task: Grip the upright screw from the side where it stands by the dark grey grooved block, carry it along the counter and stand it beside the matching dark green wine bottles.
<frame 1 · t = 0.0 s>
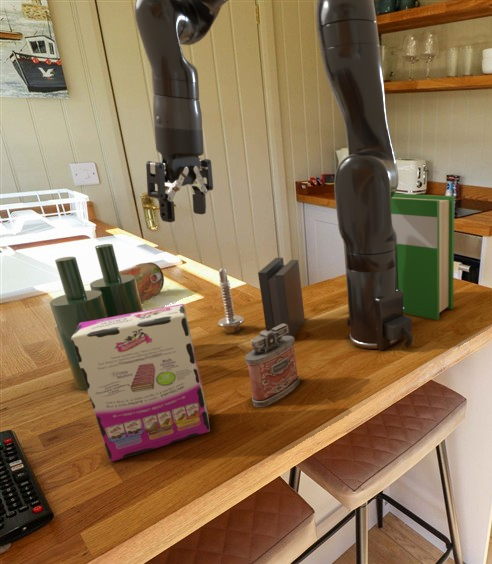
hand: (184, 217, 79), 22 cm above the breakfast bar, tool pointing down, fingers open, 8 cm apart
hardback book: (409, 307, 93), on the breakfast bar
screw: (232, 331, 84), on the breakfast bar
candy bar box: (162, 437, 54), on the breakfast bar
lighter: (277, 393, 63), on the breakfast bar
dark grey grooved block: (287, 330, 83), on the breakfast bar
wine bottles: (117, 366, 71), on the breakfast bar
tin: (140, 301, 102), on the breakfast bar
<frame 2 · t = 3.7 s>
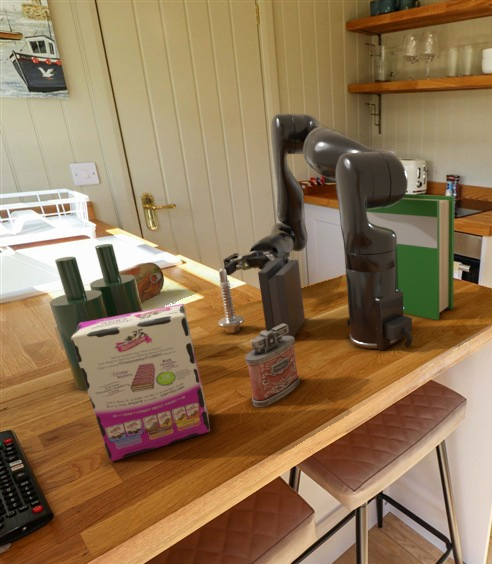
hand: (246, 270, 91), 9 cm above the breakfast bar, tool horizontal, fingers open, 8 cm apart
nothing on the breakfast bar moved.
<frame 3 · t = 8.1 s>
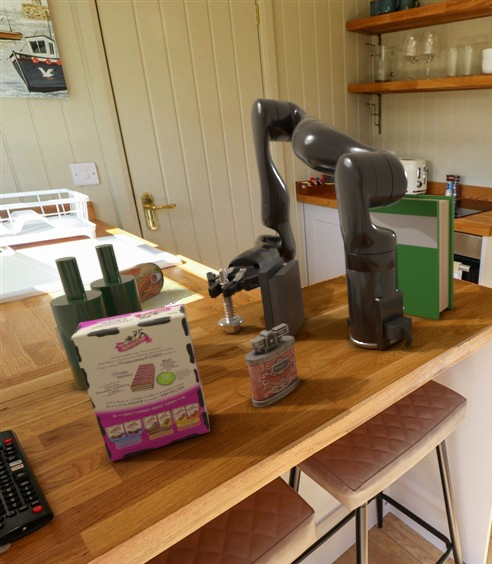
hand: (218, 293, 78), 9 cm above the breakfast bar, tool horizontal, fingers closed on screw, 2 cm apart
screw: (232, 331, 84), on the breakfast bar, touching gripper
everything else where it was.
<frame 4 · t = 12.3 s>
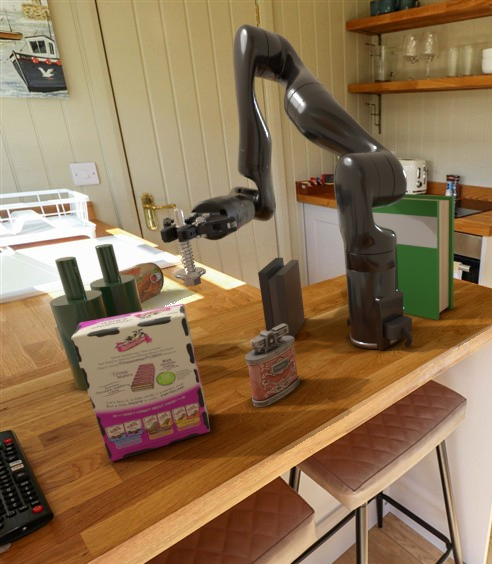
hand: (172, 236, 66), 22 cm above the breakfast bar, tool horizontal, fingers closed on screw
screw: (192, 285, 72), point 13 cm above the breakfast bar, touching gripper
everything else where it was.
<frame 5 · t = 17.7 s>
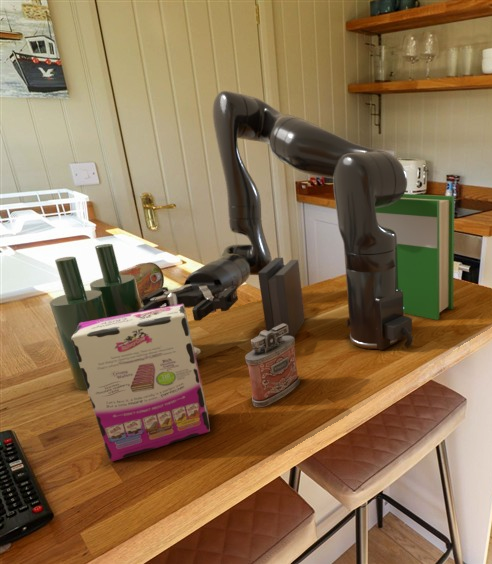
hand: (168, 315, 66), 10 cm above the breakfast bar, tool horizontal, fingers open, 8 cm apart
screw: (186, 366, 71), on the breakfast bar
everything else where it was.
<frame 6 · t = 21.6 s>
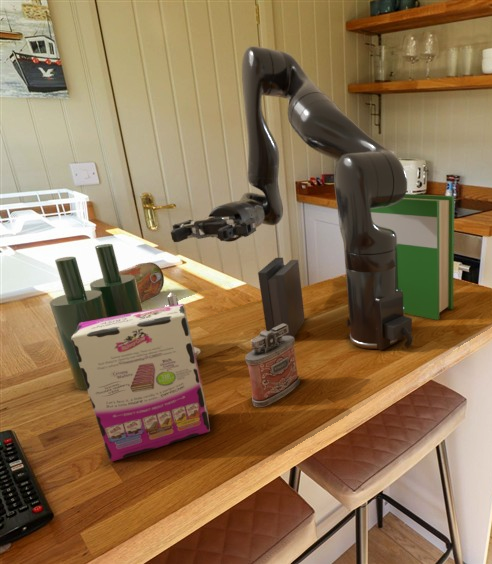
hand: (197, 236, 75), 20 cm above the breakfast bar, tool horizontal, fingers open, 8 cm apart
nothing on the breakfast bar moved.
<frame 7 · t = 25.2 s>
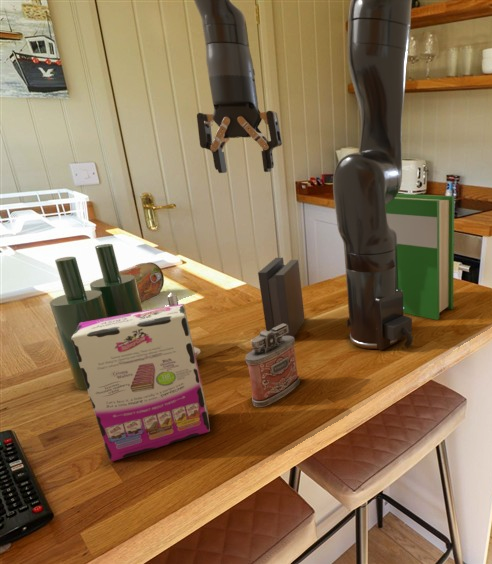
hand: (245, 172, 79), 30 cm above the breakfast bar, tool pointing down, fingers open, 8 cm apart
nothing on the breakfast bar moved.
at the end: screw 0.2 cm from the target spot, on the breakfast bar; screw tilted 0° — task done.
